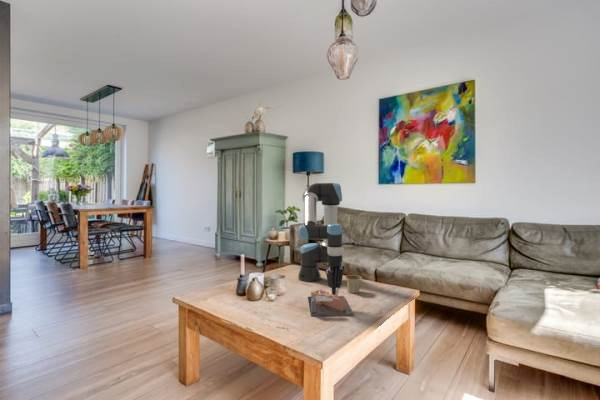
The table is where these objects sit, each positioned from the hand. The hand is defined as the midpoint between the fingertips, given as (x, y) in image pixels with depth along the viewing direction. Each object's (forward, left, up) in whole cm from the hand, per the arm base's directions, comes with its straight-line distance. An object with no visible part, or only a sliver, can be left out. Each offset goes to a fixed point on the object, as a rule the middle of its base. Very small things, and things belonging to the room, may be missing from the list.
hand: (335, 300), depth 158 cm
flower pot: (-23, +14, -4) cm, 27 cm away
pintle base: (-1, -3, -4) cm, 5 cm away
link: (0, -3, -3) cm, 4 cm away
